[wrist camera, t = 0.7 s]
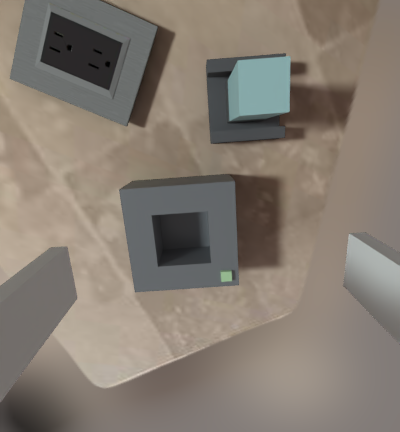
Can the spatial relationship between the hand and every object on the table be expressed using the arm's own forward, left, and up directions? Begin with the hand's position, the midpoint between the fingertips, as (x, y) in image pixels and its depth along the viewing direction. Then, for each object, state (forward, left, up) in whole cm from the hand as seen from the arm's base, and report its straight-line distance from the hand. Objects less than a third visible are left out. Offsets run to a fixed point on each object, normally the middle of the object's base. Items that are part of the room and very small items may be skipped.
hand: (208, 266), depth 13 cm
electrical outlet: (-15, -12, -23) cm, 30 cm away
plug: (-9, +5, -22) cm, 24 cm away
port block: (+5, -3, -22) cm, 23 cm away
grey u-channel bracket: (-9, +5, -22) cm, 25 cm away
